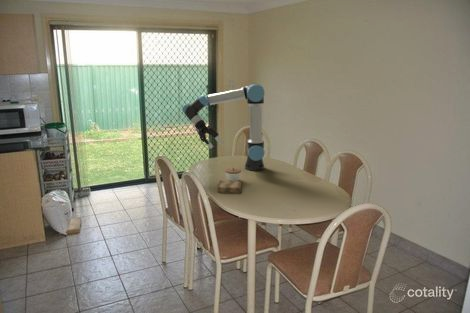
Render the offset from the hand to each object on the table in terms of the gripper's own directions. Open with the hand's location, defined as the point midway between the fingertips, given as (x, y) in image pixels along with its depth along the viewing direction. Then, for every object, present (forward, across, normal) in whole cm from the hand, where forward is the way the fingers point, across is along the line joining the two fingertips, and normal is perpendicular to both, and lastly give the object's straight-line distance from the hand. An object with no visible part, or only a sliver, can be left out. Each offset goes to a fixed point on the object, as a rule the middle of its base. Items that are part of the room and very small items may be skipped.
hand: (216, 145), depth 246 cm
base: (+30, +18, -2) cm, 35 cm away
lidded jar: (+26, +2, -6) cm, 27 cm away
